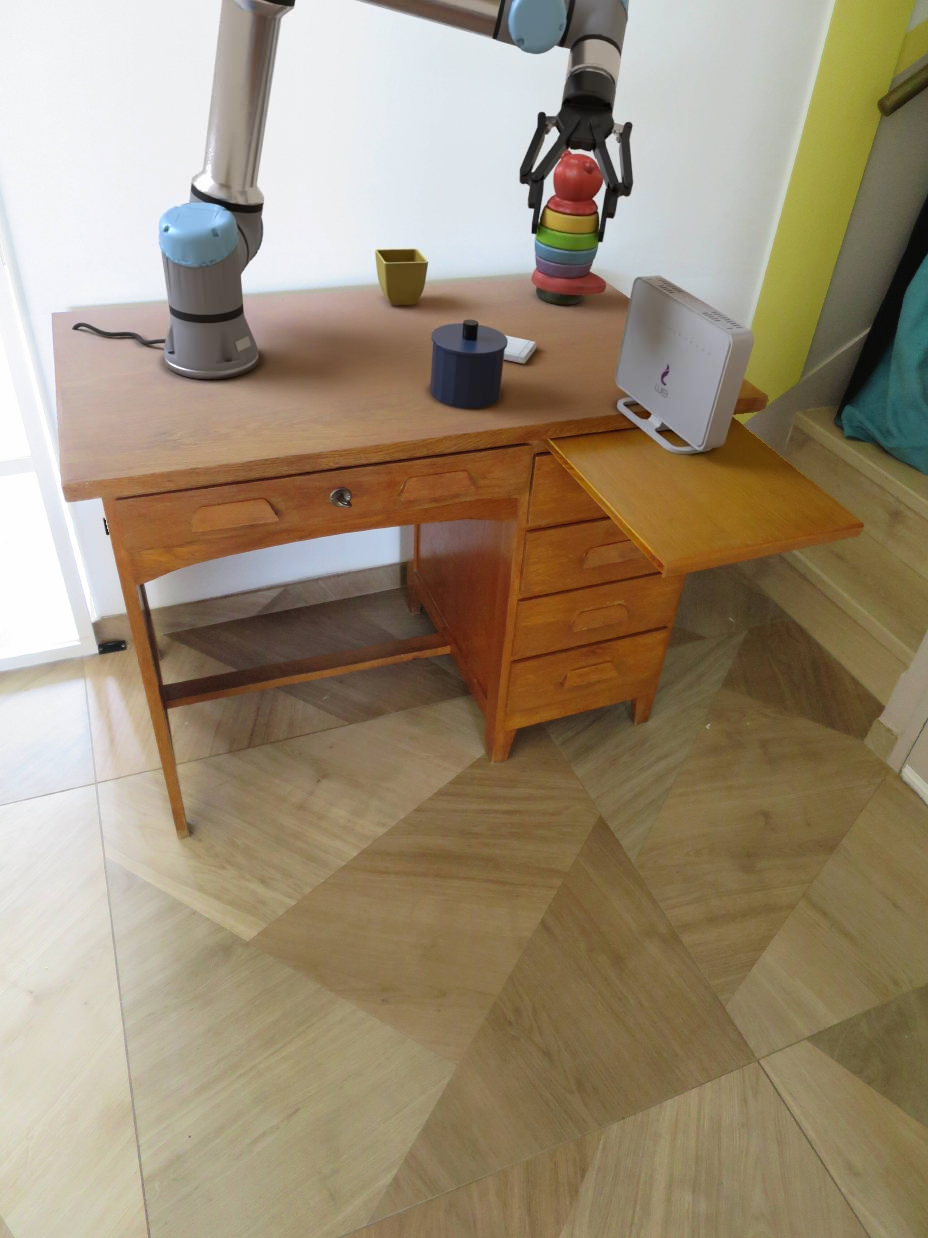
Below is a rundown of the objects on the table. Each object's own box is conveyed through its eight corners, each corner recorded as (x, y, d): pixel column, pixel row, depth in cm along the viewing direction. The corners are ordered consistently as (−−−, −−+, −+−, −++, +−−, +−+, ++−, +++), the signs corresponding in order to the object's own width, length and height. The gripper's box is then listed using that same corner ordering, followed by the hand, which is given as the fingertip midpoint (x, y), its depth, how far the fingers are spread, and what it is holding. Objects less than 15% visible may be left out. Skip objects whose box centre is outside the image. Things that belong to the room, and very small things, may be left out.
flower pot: (373, 294, 178) (374, 248, 173) (415, 292, 181) (417, 247, 175) (383, 310, 172) (384, 262, 166) (426, 308, 174) (429, 261, 169)
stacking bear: (611, 292, 131) (633, 161, 120) (554, 299, 127) (572, 164, 116) (570, 269, 138) (589, 143, 127) (516, 275, 134) (529, 145, 123)
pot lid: (424, 353, 136) (425, 330, 134) (438, 325, 146) (439, 303, 143) (502, 364, 135) (504, 341, 133) (510, 335, 145) (513, 313, 142)
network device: (600, 394, 149) (622, 274, 137) (643, 388, 152) (669, 271, 140) (686, 467, 132) (721, 337, 119) (733, 459, 135) (772, 331, 122)
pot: (424, 403, 142) (427, 349, 136) (437, 374, 150) (440, 323, 145) (494, 412, 141) (500, 359, 135) (502, 383, 150) (508, 332, 144)
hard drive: (458, 342, 158) (524, 355, 156) (473, 327, 164) (536, 340, 162) (458, 351, 159) (523, 364, 157) (472, 335, 165) (535, 348, 163)
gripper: (660, 112, 130) (639, 255, 128) (516, 96, 131) (493, 237, 129) (669, 75, 123) (647, 227, 120) (516, 58, 124) (491, 208, 122)
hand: (567, 232), depth 125 cm, fingers closed on stacking bear, 9 cm apart
